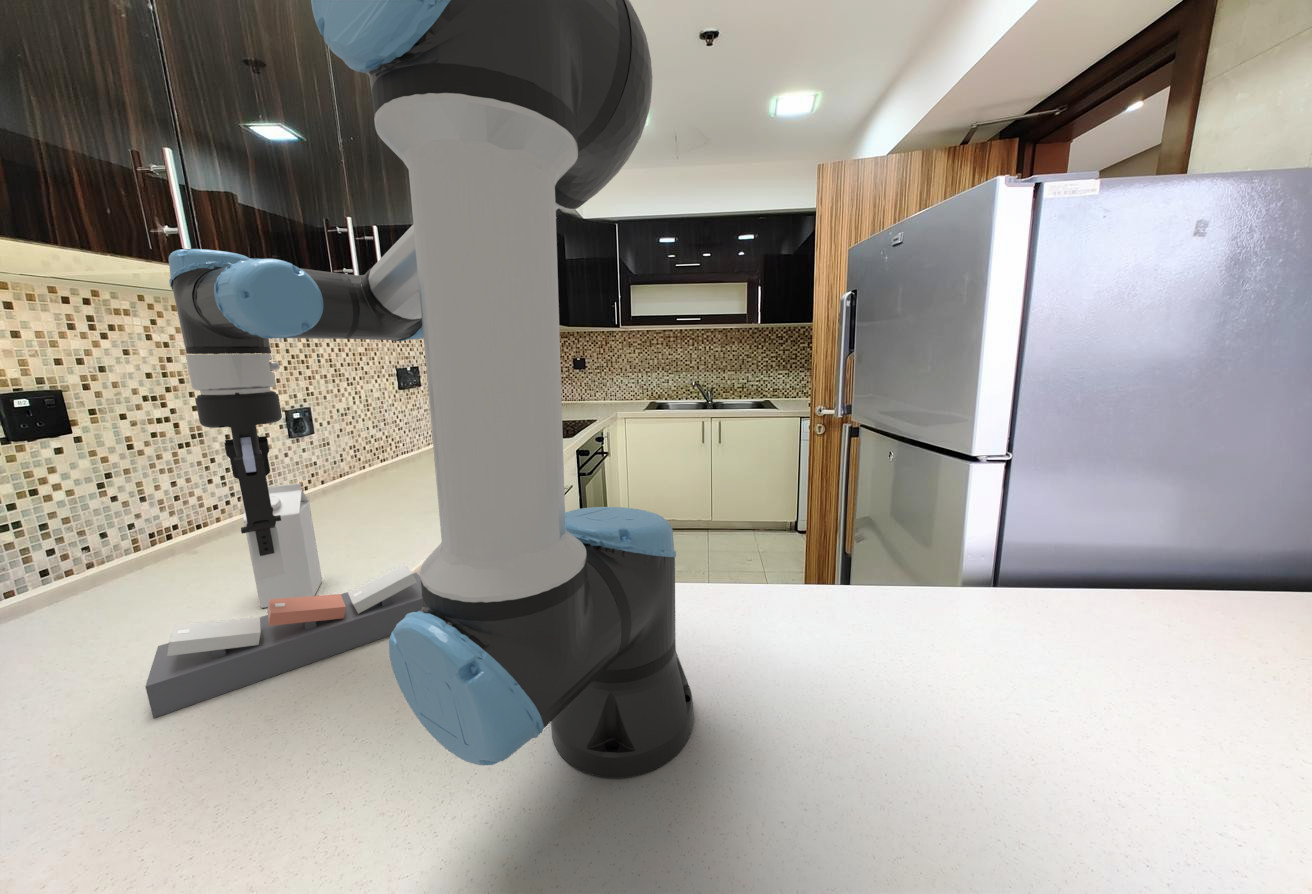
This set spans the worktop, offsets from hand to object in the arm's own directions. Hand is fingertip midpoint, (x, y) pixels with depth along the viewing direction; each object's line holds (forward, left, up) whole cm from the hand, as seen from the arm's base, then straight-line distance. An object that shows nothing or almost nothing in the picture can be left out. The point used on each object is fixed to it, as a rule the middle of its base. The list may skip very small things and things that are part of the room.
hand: (271, 575), depth 61 cm
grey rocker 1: (0, +6, -6) cm, 8 cm away
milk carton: (+21, -2, -12) cm, 24 cm away
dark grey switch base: (+1, -6, -12) cm, 13 cm away
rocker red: (0, -3, -6) cm, 7 cm away
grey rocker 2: (0, -12, -6) cm, 13 cm away
